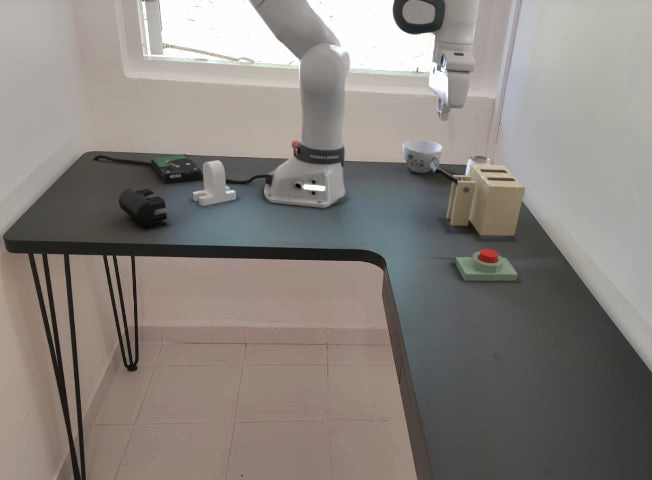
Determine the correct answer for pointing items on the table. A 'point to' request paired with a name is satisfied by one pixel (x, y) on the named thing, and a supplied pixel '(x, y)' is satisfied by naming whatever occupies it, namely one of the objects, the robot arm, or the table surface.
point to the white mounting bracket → (214, 185)
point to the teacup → (421, 154)
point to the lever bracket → (461, 201)
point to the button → (488, 256)
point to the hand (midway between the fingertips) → (442, 118)
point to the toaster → (495, 200)
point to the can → (476, 162)
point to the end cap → (143, 207)
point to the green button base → (485, 269)
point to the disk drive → (176, 168)
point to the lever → (444, 173)
